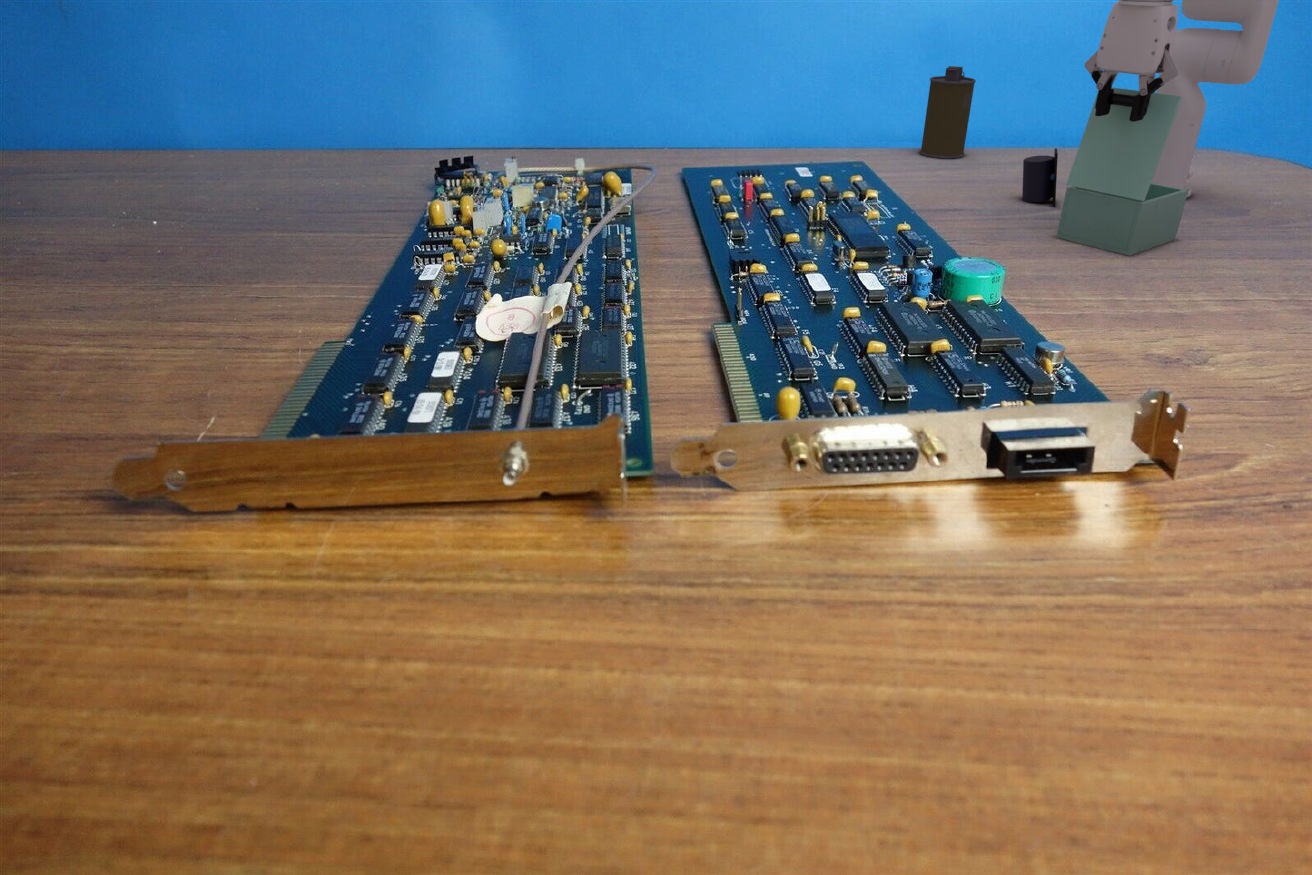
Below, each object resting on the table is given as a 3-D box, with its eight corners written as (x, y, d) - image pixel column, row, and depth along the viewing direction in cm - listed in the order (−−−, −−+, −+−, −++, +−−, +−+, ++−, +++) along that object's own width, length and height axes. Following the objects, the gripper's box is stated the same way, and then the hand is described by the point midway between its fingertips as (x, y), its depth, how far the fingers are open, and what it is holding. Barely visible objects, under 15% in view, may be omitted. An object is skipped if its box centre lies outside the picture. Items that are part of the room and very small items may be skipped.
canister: (956, 160, 222) (970, 71, 212) (913, 155, 227) (925, 67, 217) (969, 152, 230) (983, 66, 220) (928, 148, 235) (940, 63, 225)
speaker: (1064, 200, 189) (1069, 147, 184) (1054, 207, 185) (1059, 153, 180) (1027, 197, 193) (1030, 146, 188) (1016, 204, 189) (1020, 152, 185)
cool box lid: (1101, 86, 157) (1087, 81, 154) (1182, 97, 147) (1169, 91, 144) (1068, 185, 162) (1054, 182, 159) (1144, 201, 153) (1130, 198, 150)
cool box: (1102, 223, 175) (1114, 175, 171) (1175, 240, 165) (1188, 190, 161) (1056, 237, 166) (1066, 187, 162) (1129, 256, 157) (1142, 204, 153)
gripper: (1216, -5, 138) (1182, 123, 147) (1107, -10, 150) (1082, 108, 159) (1191, -2, 134) (1158, 128, 143) (1081, -8, 146) (1057, 113, 155)
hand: (1118, 116), depth 151 cm, fingers closed on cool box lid, 5 cm apart
